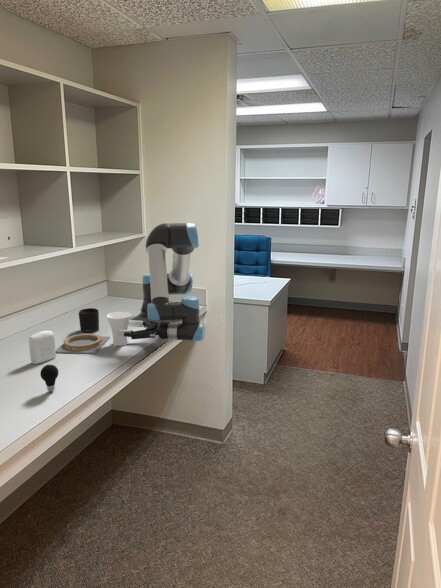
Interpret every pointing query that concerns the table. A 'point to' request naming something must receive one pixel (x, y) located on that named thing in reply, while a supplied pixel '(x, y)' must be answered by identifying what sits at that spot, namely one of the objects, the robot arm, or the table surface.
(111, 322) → the cup
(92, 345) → the collar ring
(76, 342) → the collar mat
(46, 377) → the light bulb
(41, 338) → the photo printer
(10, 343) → the table surface
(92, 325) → the pen holder
